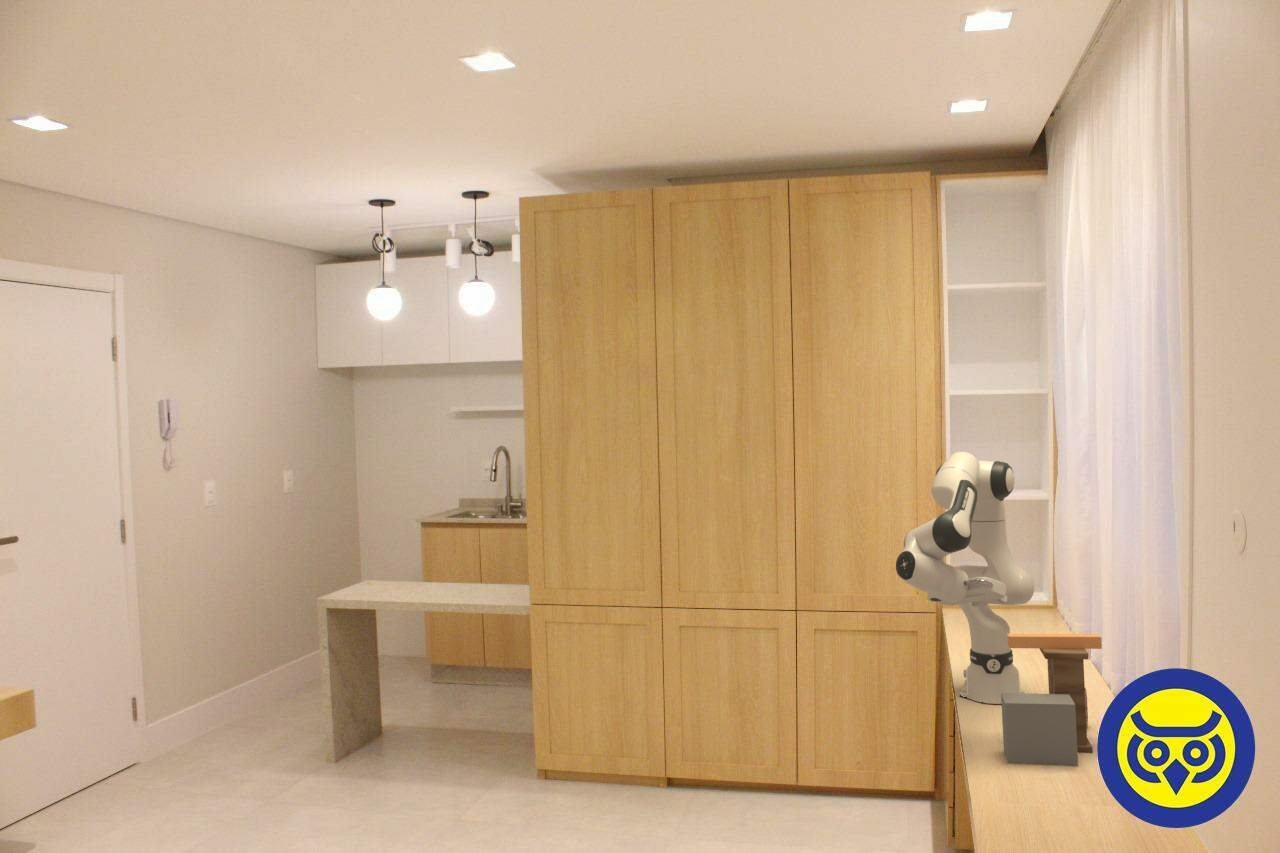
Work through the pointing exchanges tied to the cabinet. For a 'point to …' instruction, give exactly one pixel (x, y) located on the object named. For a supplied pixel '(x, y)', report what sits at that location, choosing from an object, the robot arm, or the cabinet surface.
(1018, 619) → the cabinet surface
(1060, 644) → the orange square-ended block
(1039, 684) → the cabinet surface
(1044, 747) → the grey step block
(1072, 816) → the cabinet surface
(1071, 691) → the walnut stand
